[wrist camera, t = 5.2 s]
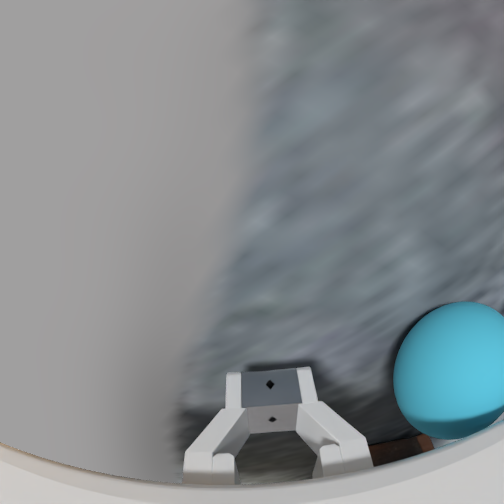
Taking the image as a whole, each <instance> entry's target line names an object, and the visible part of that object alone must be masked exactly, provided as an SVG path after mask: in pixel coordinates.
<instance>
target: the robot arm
mask: <svg viewBox="0 0 504 504" xmlns="http://www.w3.org/2000/svg"><path fill="white" fill-rule="evenodd" d="M292 430H296V432H297V433H298V434H299V436H300V437H301V438H302V439H303V440H304V441H305V442H306V444H307V445H308V446H309V447H310V448H311V449H312V450H313V451H314V452H315V454H316V455H317V460H316V463H315V467H314V470H313V473H312V477H313V479H306V480H298V481H289V482H278V483H265V484H244V485H241V482H240V477H239V473H238V470H237V466H236V462H235V457H236V456H237V454H238V453H239V451H240V450H241V448H242V446H243V445H244V443H245V442H246V440H247V439H248V437H249V435H250V434H253V433H265V432H278V431H292ZM0 504H504V420H502V421H500V422H498V423H496V424H494V425H492V426H489V427H487V428H485V429H483V430H481V431H479V432H476V433H474V434H472V435H469V436H467V437H465V438H462V439H460V440H457V441H455V442H452V443H450V444H447V445H445V446H442V447H439V448H436V449H434V450H431V451H428V452H425V453H422V454H419V455H416V456H412V457H409V458H406V459H402V460H399V461H395V462H392V463H388V464H384V465H380V466H376V467H374V466H373V463H372V459H371V455H370V452H369V448H368V445H367V441H366V438H365V437H364V436H363V435H362V434H361V433H359V432H358V431H357V430H356V429H355V428H353V427H352V426H351V425H350V424H349V423H347V422H346V421H345V420H344V419H343V418H341V417H340V416H339V415H338V414H337V413H336V412H334V411H333V410H332V409H331V408H330V407H329V406H327V405H326V404H325V403H324V402H323V401H318V398H317V393H316V389H315V384H314V380H313V375H312V371H311V368H310V367H301V368H289V369H278V370H269V371H253V372H227V376H226V406H225V409H221V410H220V411H219V412H218V414H217V415H216V416H215V417H214V418H213V420H212V421H211V422H210V423H209V424H208V426H207V427H206V428H205V429H204V430H203V432H202V433H201V434H200V435H199V436H198V438H197V439H196V440H195V441H194V442H193V443H192V445H191V446H190V447H189V448H188V449H187V450H186V451H185V458H184V468H183V478H182V483H170V482H159V481H150V480H141V479H135V478H127V477H122V476H115V475H110V474H105V473H100V472H95V471H91V470H86V469H82V468H78V467H74V466H70V465H66V464H62V463H59V462H55V461H52V460H48V459H45V458H42V457H39V456H36V455H33V454H30V453H27V452H24V451H21V450H18V449H16V448H13V447H10V446H8V445H5V444H3V443H1V442H0Z"/></svg>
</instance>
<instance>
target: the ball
mask: <svg viewBox="0 0 504 504" xmlns="http://www.w3.org/2000/svg"><path fill="white" fill-rule="evenodd" d="M393 384H394V392H395V397H396V400H397V403H398V406H399V408H400V410H401V412H402V414H403V415H404V416H405V418H406V419H407V421H408V422H409V423H410V424H411V425H412V426H413V427H415V428H416V429H417V430H419V431H420V432H422V433H424V434H426V435H428V436H431V437H434V438H438V439H446V440H451V439H460V438H464V437H467V436H469V435H472V434H474V433H476V432H479V431H481V430H483V429H485V428H487V427H488V426H489V425H491V424H492V423H493V422H494V421H495V420H496V419H497V418H498V417H499V416H500V415H501V414H502V413H503V412H504V317H503V316H502V315H501V314H500V313H498V312H497V311H496V310H494V309H492V308H490V307H488V306H486V305H484V304H480V303H475V302H455V303H451V304H447V305H444V306H442V307H439V308H437V309H435V310H433V311H432V312H430V313H429V314H427V315H426V316H424V317H423V318H422V319H421V320H420V321H419V322H418V323H417V324H416V325H415V326H414V327H413V328H412V329H411V331H410V332H409V333H408V335H407V336H406V338H405V339H404V341H403V343H402V345H401V347H400V349H399V352H398V355H397V358H396V362H395V367H394V374H393Z"/></svg>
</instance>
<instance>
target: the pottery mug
mask: <svg viewBox="0 0 504 504" xmlns="http://www.w3.org/2000/svg"><path fill="white" fill-rule="evenodd" d="M368 448H369V452H370V455H371V459H372V463H373V466H374V467H376V466H380V465H384V464H388V463H392V462H395V461H399V460H402V459H406V458H409V457H412V456H416V455H419V454H422V453H425V452H428V451H431V450H434V447H433V444H432V442H431V439H430V437H429V436H428V435H426V434H424V433H423V434H420V435H418V436H415V437H412V438H409V439H399V440H394V441H391V442H387V443H380V444H376V445H371V446H368Z"/></svg>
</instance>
